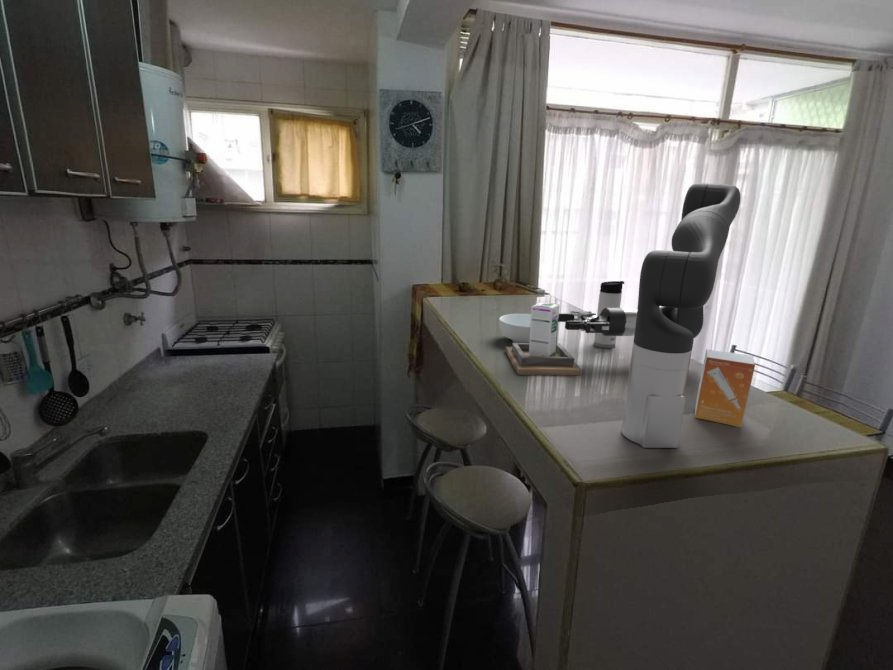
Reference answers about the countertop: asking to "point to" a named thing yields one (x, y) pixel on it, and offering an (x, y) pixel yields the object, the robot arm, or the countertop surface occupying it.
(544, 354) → the syrup box
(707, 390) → the small box
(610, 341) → the travel mug
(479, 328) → the countertop surface
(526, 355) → the wooden tray
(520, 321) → the cereal bowl
